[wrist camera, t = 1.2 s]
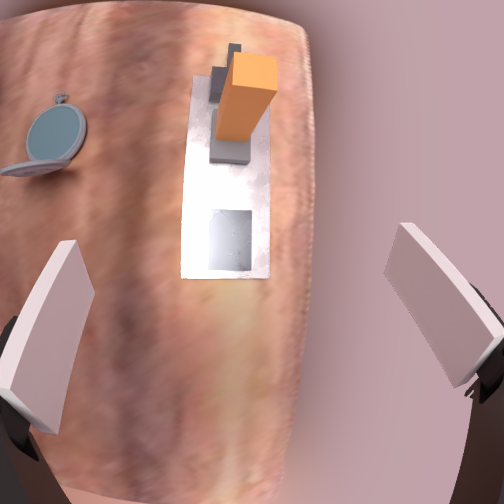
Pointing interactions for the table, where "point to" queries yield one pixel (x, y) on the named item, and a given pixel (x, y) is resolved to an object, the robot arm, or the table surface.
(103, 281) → the table surface
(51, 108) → the pocket watch
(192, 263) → the base
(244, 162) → the handle
